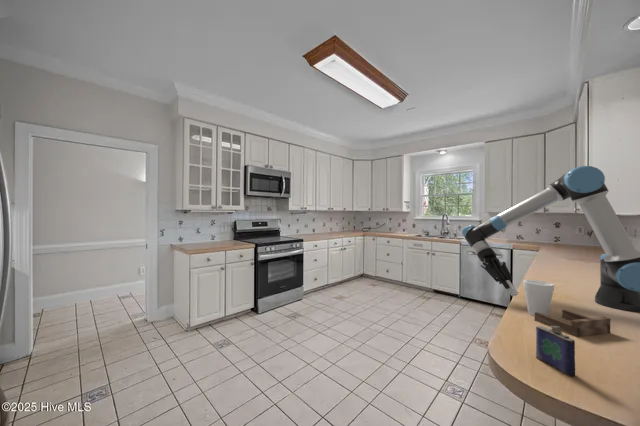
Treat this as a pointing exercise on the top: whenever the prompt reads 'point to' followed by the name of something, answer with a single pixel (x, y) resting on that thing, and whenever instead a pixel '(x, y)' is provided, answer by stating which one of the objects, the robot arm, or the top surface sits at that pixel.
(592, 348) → the top surface
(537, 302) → the foam cup
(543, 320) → the corral
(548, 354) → the flask
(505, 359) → the top surface
